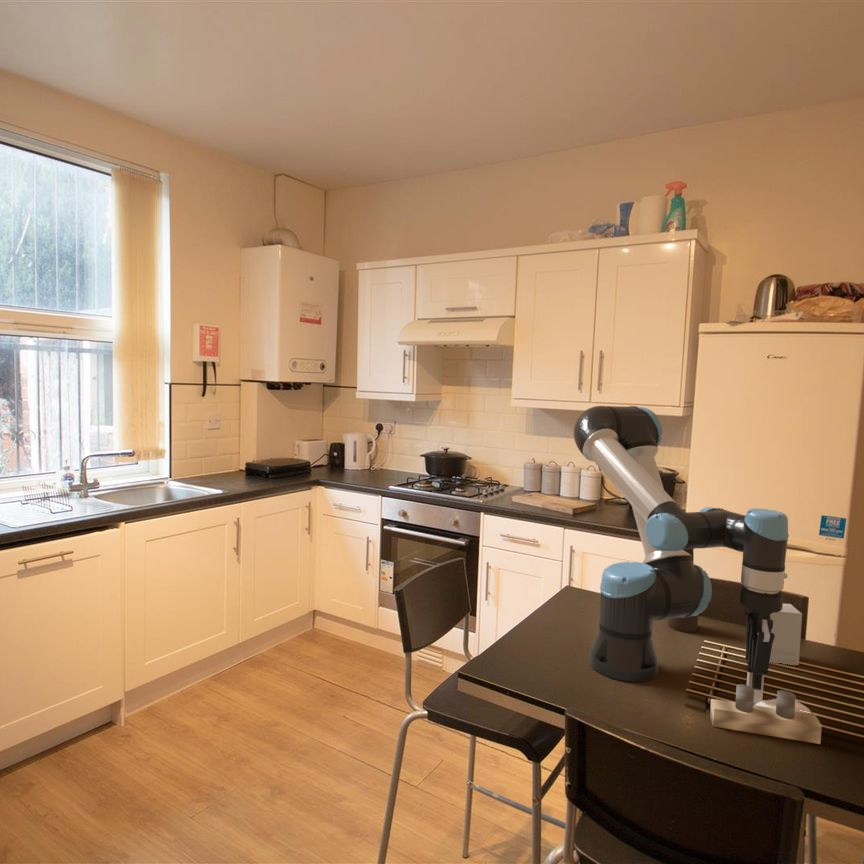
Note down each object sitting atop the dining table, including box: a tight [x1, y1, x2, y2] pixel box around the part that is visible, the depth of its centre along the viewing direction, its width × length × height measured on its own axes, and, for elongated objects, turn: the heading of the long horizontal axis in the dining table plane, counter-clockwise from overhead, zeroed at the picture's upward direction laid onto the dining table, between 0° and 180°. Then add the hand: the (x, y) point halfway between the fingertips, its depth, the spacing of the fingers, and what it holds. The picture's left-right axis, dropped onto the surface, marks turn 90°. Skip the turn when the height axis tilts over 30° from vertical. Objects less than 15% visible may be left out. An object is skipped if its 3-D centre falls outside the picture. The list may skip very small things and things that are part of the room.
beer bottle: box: [667, 549, 699, 633], centre depth 166 cm, size 8×8×24 cm
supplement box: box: [770, 602, 803, 666], centre depth 148 cm, size 7×7×13 cm
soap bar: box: [754, 698, 812, 714], centre depth 121 cm, size 5×9×3 cm, turn 108°
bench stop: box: [709, 683, 823, 745], centre depth 116 cm, size 18×4×8 cm, turn 74°
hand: (753, 701), depth 124 cm, fingers closed
